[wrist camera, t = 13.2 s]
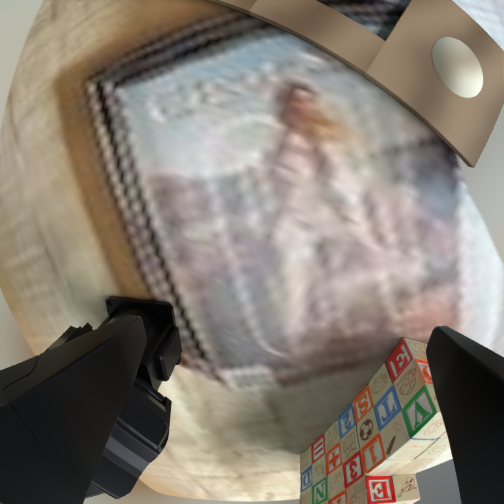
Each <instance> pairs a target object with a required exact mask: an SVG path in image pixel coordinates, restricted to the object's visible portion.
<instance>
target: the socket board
mask: <svg viewBox="0 0 504 504" xmlns="http://www.w3.org/2000/svg"><path fill="white" fill-rule="evenodd" d="M208 1H211V2H215V3H218V4H221V5H224V6H226V7H229V8H232V9H235V10H237V11H240V12H243V13H245V14H248V15H250V16H253V17H255V18H258V19H260V20H262V21H265V22H267V23H269V24H272V25H274V26H276V27H278V28H280V29H282V30H285V31H287V32H289V33H291V34H293V35H295V36H297V37H299V38H301V39H303V40H304V41H306V42H308V43H310V44H312V45H314V46H316V47H317V48H319V49H321V50H323V51H324V52H326V53H328V54H330V55H331V56H333V57H335V58H336V59H338V60H340V61H341V62H343V63H344V64H346V65H348V66H349V67H351V68H352V69H354V70H355V71H357V72H358V73H360V74H361V75H363V76H364V77H366V78H367V79H369V80H370V81H372V82H373V83H374V84H376V85H377V86H379V87H380V88H381V89H383V90H384V91H385V92H387V93H388V94H389V95H391V96H392V97H393V98H395V99H396V100H397V101H398V102H400V103H401V104H402V105H403V106H405V107H406V108H407V109H408V110H409V111H411V112H412V113H413V114H414V115H415V116H417V117H418V118H419V119H420V120H421V121H422V122H424V123H425V124H426V125H427V126H428V127H429V128H430V129H431V130H432V131H434V132H435V133H436V134H437V135H438V136H439V137H440V138H441V139H442V140H443V141H444V142H445V143H446V144H447V145H448V146H449V147H450V148H451V149H452V150H453V151H454V152H455V153H456V154H457V155H458V156H459V157H460V158H461V159H462V160H463V161H464V162H465V163H466V164H467V165H468V167H475V165H476V163H477V161H478V159H479V157H480V155H481V153H482V151H483V149H484V147H485V145H486V143H487V141H488V138H489V136H490V134H491V132H492V130H493V127H494V125H495V123H496V121H497V118H498V116H499V114H500V111H501V109H502V106H503V104H504V51H503V50H502V49H501V47H500V46H499V45H498V44H497V43H496V42H495V41H494V40H493V39H492V38H491V37H490V36H489V35H488V33H487V32H486V31H485V30H484V29H483V28H482V27H481V26H480V25H479V24H478V23H476V22H475V21H474V20H473V19H472V18H471V17H470V16H469V15H468V14H467V13H466V12H465V11H464V10H462V9H461V8H460V7H459V6H458V5H457V4H455V3H454V2H453V1H452V0H410V2H409V4H408V5H407V7H406V8H405V10H404V11H403V13H402V15H401V16H400V18H399V19H398V21H397V22H396V24H395V26H394V27H393V29H392V30H391V32H390V33H389V35H388V37H387V38H386V40H385V41H384V40H383V39H381V38H380V37H378V36H377V35H375V34H374V33H372V32H371V31H369V30H368V29H366V28H364V27H363V26H361V25H360V24H358V23H356V22H355V21H353V20H351V19H350V18H348V17H346V16H344V15H343V14H341V13H339V12H337V11H335V10H333V9H332V8H330V7H328V6H326V5H324V4H322V3H320V2H318V1H316V0H208Z"/></svg>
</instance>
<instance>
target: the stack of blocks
mask: <svg viewBox="0 0 504 504" xmlns="http://www.w3.org/2000/svg"><path fill="white" fill-rule="evenodd" d="M427 345H428V344H425V343H422V342H419V341H415V340H412V339H408V338H402V340H401V341H400V343H399V344H398V346H397V347H396V349H395V350H394V351H393V353H392V354H391V356H390V357H389V359H388V360H387V361H386V363H384V364H383V365H382V366H381V368H380V369H379V370H378V372H377V373H376V374H375V375H374V377H373V378H372V379H371V381H370V382H369V384H368V385H367V386H366V387H365V388H364V389H363V390H362V391H361V393H360V394H359V395H358V396H357V397H356V398H355V400H354V401H353V403H352V404H351V405H350V406H349V407H348V408H347V409H346V410H345V412H344V413H343V414H342V415H341V416H340V417H339V418H338V420H337V421H336V422H335V423H334V424H333V425H332V426H331V427H330V428H329V429H328V430H327V431H326V432H325V433H324V434H323V435H321V436H320V437H319V438H318V439H317V440H316V441H315V442H314V443H313V444H312V445H311V446H310V447H309V448H308V449H307V450H306V451H305V452H304V453H303V454H302V455H301V456H300V474H301V489H300V493H301V494H300V504H413V503H414V502H416V501H418V500H419V499H420V495H419V490H418V485H417V481H416V476H415V473H417V472H418V471H419V470H421V469H422V468H423V467H425V466H426V465H427V464H429V463H430V462H431V461H432V460H433V459H435V458H436V457H438V456H439V455H440V454H442V453H443V452H444V451H445V450H446V449H447V448H449V447H450V444H449V440H448V437H447V433H446V429H445V425H444V422H443V418H442V415H441V412H440V408H439V405H438V402H437V399H436V395H435V391H434V387H433V383H432V378H431V374H430V369H429V365H428V361H427V357H426V347H427Z"/></svg>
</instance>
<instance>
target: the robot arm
mask: <svg viewBox="0 0 504 504" xmlns="http://www.w3.org/2000/svg"><path fill="white" fill-rule="evenodd" d="M110 301H111V302H112V303H111V302H110ZM106 307H107V311H108V315H109V316H108V317H107V318H106V319H105V320H104V321H103V323H102V324H101V325H100V326H99V327H98V328H97V329H95V330H93V329H92V327H91V325H90V324H89V323H87V324H86V325H85V326H84V327H83V328H82V327H81V326H80V327H79V328H75V327H72V326H70V327H69V328H68V329H67V330H66V331H65V332H64V333H63V334H62V335H61V336H60V337H59V338H58V339H57V340H56V341H55V342H54V343H53V344H52V345H51V346H50V347H49V348H48V349H46V351H45V352H44V353H42V354H40V355H37V356H35V357H33V358H31V359H28V360H26V361H23V362H21V363H18V364H16V365H13V366H11V367H8V368H5V369H3V370H0V504H83V502H84V500H85V498H88V497H92V496H96V495H100V494H103V493H106V494H108V495H110V496H112V497H113V498H115V499H119V498H121V497H123V496H125V495H126V494H128V493H130V492H131V490H132V489H133V487H134V485H135V483H136V482H137V480H138V478H139V477H140V475H141V474H142V472H143V471H144V470H145V468H146V467H147V466H148V465H149V463H150V462H152V461H153V460H154V459H156V458H157V456H158V455H159V454H160V453H161V452H162V450H163V449H164V447H165V445H166V443H167V440H168V436H169V426H170V414H171V403H172V401H171V400H169V399H168V398H167V397H164V396H163V395H162V394H160V393H159V392H158V389H159V387H160V385H161V382H162V381H168V380H169V378H170V376H171V374H172V371H173V369H174V367H175V365H178V364H180V362H181V355H180V354H181V352H182V347H181V341H180V334H179V329H178V327H177V326H176V324H175V317H174V310H173V306H172V305H171V304H170V303H167V302H157V301H147V300H138V299H129V298H121V297H112V296H109V297H108V298H107V299H106ZM165 307H166V308H168V309H169V310H166V309H165ZM426 357H427V361H428V365H429V369H430V374H431V378H432V383H433V387H434V391H435V395H436V399H437V402H438V405H439V408H440V412H441V415H442V418H443V422H444V425H445V429H446V433H447V437H448V440H449V444H450V448H451V453H452V457H453V461H454V466H455V470H456V476H457V481H458V486H459V492H460V498H461V502H462V503H461V504H504V357H502V356H500V355H499V354H497V353H495V352H493V351H491V350H490V349H488V348H486V347H484V346H482V345H481V344H479V343H477V342H475V341H473V340H472V339H470V338H468V337H466V336H464V335H462V334H460V333H459V332H457V331H455V330H453V329H451V328H449V327H448V326H436V327H435V328H434V329H433V331H432V334H431V336H430V339H429V342H428V345H427V347H426Z"/></svg>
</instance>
